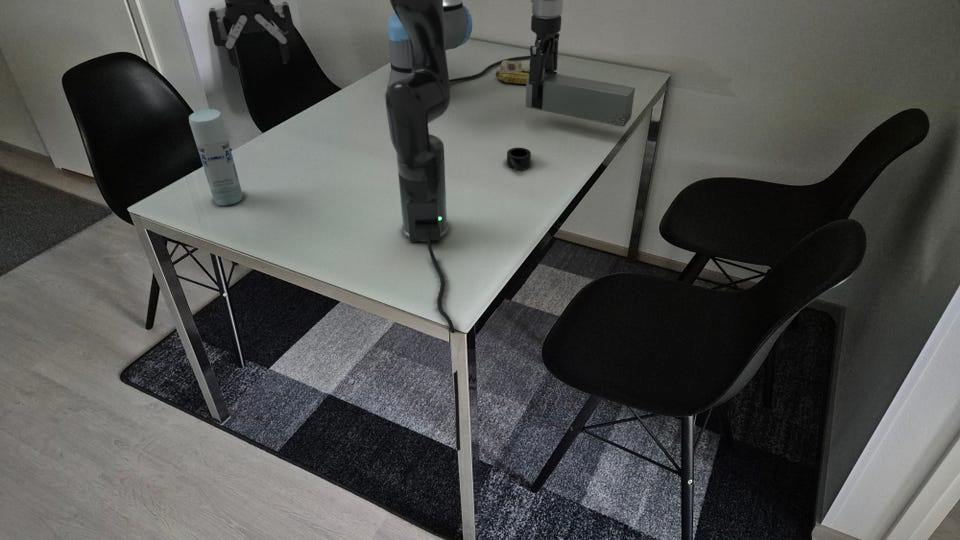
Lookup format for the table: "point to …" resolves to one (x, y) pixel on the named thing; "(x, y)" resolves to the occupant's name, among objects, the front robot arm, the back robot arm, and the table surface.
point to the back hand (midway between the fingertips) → (541, 103)
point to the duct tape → (518, 158)
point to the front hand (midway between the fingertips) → (261, 64)
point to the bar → (584, 99)
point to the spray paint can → (216, 156)
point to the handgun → (512, 72)
